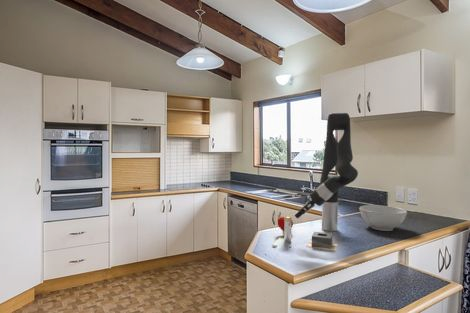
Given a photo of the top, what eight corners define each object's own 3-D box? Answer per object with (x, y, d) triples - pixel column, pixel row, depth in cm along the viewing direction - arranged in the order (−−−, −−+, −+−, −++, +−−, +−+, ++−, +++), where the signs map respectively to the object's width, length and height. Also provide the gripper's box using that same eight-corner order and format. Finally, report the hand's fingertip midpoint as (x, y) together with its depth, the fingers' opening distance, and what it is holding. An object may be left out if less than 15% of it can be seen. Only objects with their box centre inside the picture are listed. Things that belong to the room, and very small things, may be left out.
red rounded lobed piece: (295, 235, 176) (295, 218, 175) (288, 238, 170) (289, 220, 170) (281, 232, 182) (281, 215, 181) (274, 234, 177) (274, 217, 176)
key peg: (285, 241, 162) (285, 216, 161) (291, 242, 160) (292, 217, 160) (283, 243, 158) (283, 217, 158) (290, 244, 157) (290, 218, 157)
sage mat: (279, 239, 168) (279, 237, 168) (301, 242, 164) (301, 240, 164) (272, 246, 155) (272, 244, 155) (296, 250, 151) (296, 248, 151)
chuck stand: (309, 242, 164) (310, 229, 164) (337, 245, 159) (338, 233, 158) (305, 250, 151) (305, 236, 151) (335, 254, 146) (336, 240, 145)
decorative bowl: (351, 228, 194) (352, 208, 194) (368, 221, 213) (369, 203, 213) (398, 237, 175) (398, 215, 175) (412, 228, 194) (412, 209, 194)
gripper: (318, 186, 160) (295, 207, 165) (314, 190, 147) (289, 212, 151) (328, 197, 158) (305, 218, 163) (325, 202, 145) (300, 224, 150)
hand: (297, 215), depth 157 cm, fingers open, 8 cm apart
